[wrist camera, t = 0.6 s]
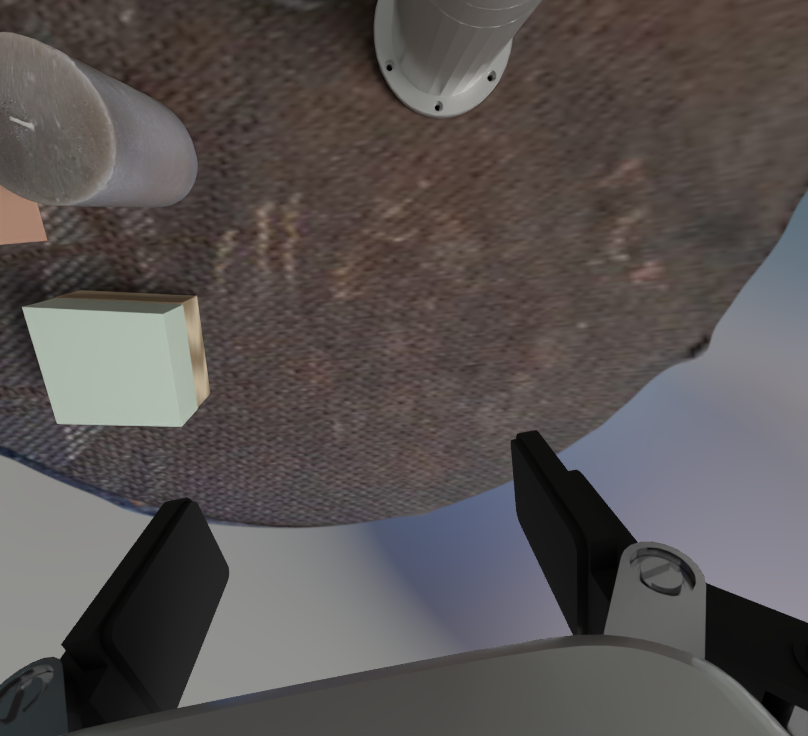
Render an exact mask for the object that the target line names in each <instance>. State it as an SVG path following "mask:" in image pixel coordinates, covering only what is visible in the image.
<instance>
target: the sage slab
mask: <svg viewBox="0 0 808 736" xmlns="http://www.w3.org/2000/svg"><path fill="white" fill-rule="evenodd" d="M22 309H23V312H24V316H25V319H26V322H27V326H28V329H29V332H30V336H31V339H32V342H33V346H34V349H35V352H36V356H37V359H38V362H39V365H40V369H41V372H42V375H43V379H44V382H45V385H46V389H47V392H48V395H49V399H50V402H51V405H52V409H53V412H54V415H55V419H56V422H57V424H86V425H129V426H173V427H182V426H183V425H184V424H185V422H186V421H187V420H188V419H189V418H190V417H191V416H192V415H193V414H194V412H195V411H196V410H197V409H198V406H197V399H196V392H195V385H194V378H193V371H192V364H191V357H190V350H189V343H188V336H187V329H186V322H185V315H184V308H183V304H164V303H145V302H126V301H106V300H87V299H68V298H54V299H50V300H46V301H42V302H39V303H35V304H31V305H28V306H24V307H22Z"/></svg>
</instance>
